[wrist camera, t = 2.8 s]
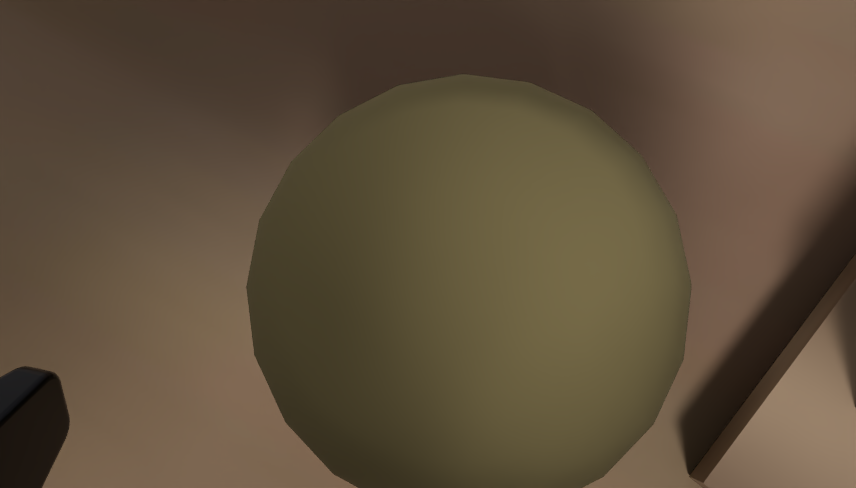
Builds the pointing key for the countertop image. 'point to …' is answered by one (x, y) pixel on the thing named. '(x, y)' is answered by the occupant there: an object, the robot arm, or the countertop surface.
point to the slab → (798, 409)
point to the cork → (469, 290)
